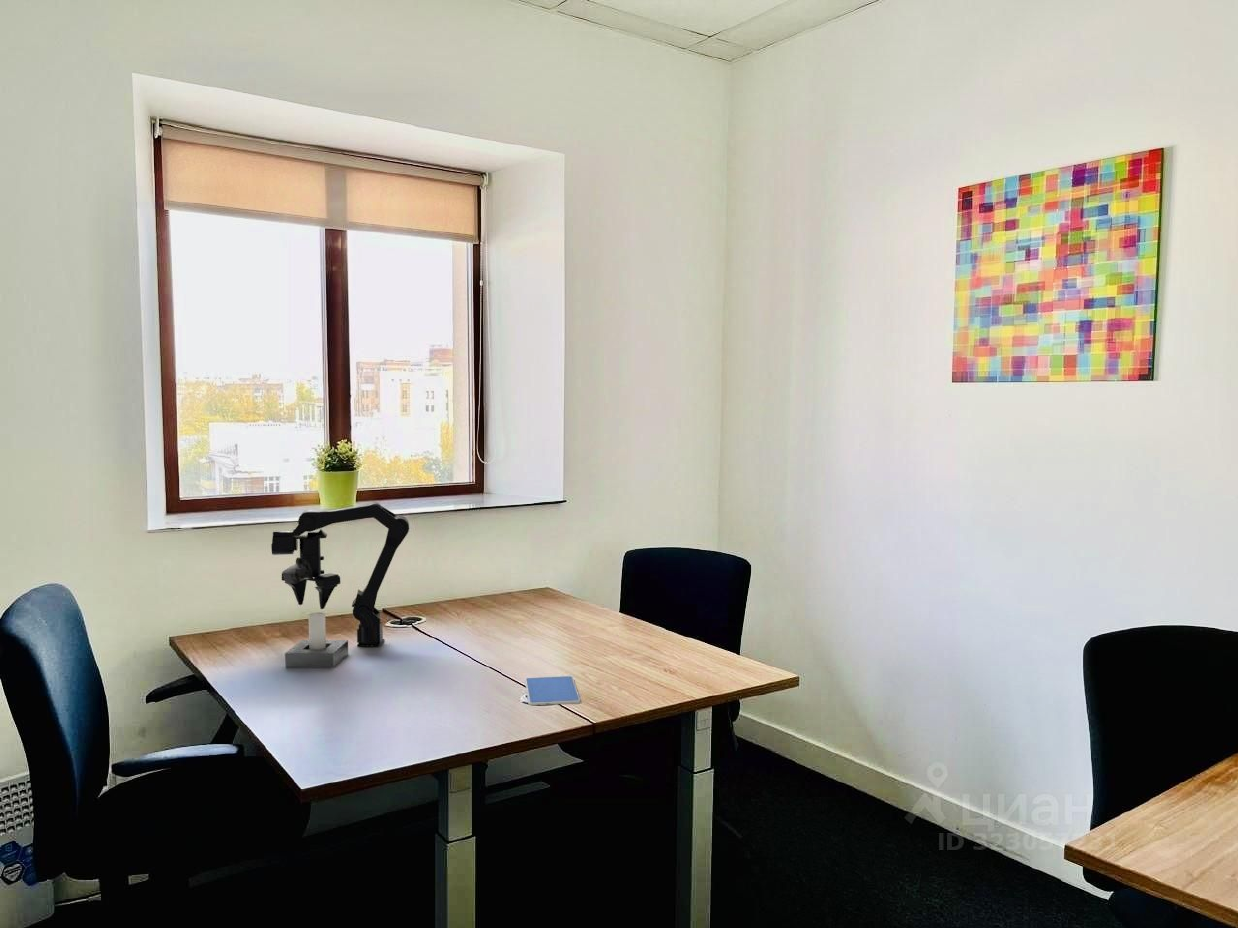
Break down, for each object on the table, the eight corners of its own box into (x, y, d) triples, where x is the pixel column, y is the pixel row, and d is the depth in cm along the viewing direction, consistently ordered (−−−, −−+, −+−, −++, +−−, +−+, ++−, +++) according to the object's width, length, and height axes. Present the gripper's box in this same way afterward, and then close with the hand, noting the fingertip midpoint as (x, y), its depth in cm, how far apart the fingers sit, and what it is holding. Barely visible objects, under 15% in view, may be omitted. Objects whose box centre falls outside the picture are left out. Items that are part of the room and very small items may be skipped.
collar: (348, 653, 261) (348, 640, 261) (333, 667, 248) (333, 653, 248) (302, 653, 261) (302, 639, 261) (285, 667, 248) (285, 652, 248)
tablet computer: (581, 705, 221) (581, 699, 221) (528, 707, 219) (528, 702, 219) (572, 680, 240) (572, 675, 240) (524, 682, 238) (524, 677, 238)
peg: (327, 658, 257) (326, 612, 256) (324, 662, 253) (323, 616, 252) (311, 658, 256) (310, 612, 255) (307, 663, 252) (306, 616, 251)
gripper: (265, 554, 263) (266, 608, 264) (310, 561, 254) (311, 616, 255) (296, 549, 273) (298, 600, 274) (341, 555, 263) (342, 608, 264)
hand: (311, 606), depth 267 cm, fingers open, 9 cm apart
